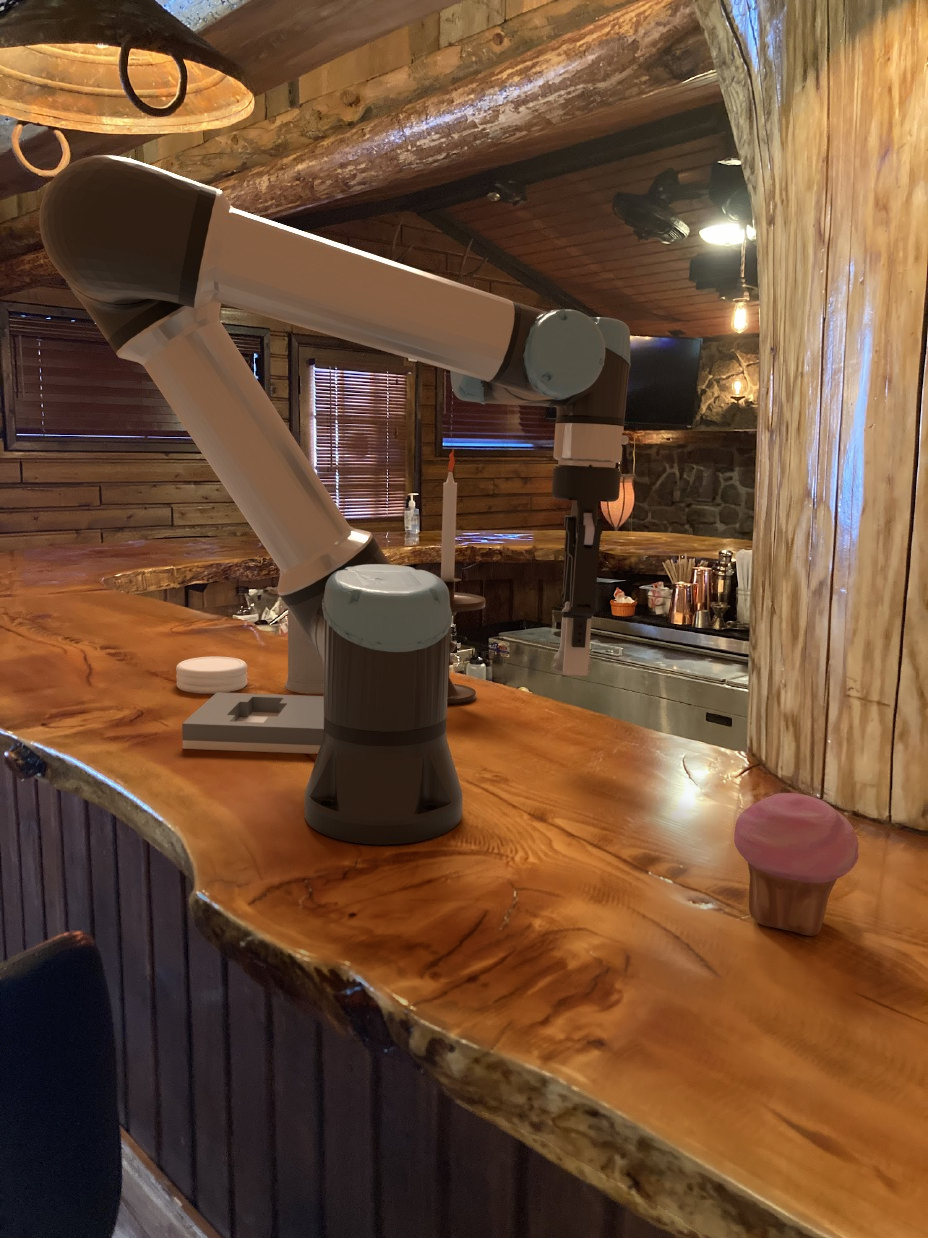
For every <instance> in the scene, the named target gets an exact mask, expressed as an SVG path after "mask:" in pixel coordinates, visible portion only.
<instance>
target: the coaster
mask: <svg viewBox="0 0 928 1238" xmlns="http://www.w3.org/2000/svg"><path fill="white" fill-rule="evenodd" d="M175 669H176V670H175V671H176V676H175V678H176V687H177V688H178V689H179V690H180V691H183V692H187V693H193V694H203V695H205V694H211V695H212V694H214V695H215V694H216V693H217V692H221V693H232V692H236V691H239V690H241V689H243V688H245V687H246V686H247V685H248V679H247V677H248V672H247V669H248V664H247V663H246V662H245V661H244V660H243V659H239V658H237V657H231V656H229V657H228V656H202V657H194V658H189V659H185V660H183V661H180V662H179V663H177V665H176V667H175Z"/></svg>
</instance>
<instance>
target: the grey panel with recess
mask: <svg viewBox="0 0 928 1238" xmlns="http://www.w3.org/2000/svg"><path fill="white" fill-rule="evenodd" d="M181 724H182V725H181V728H182V731H181V733H182V736H181V737H182V749H184V750H186V749H187V750H206V751H207V750H210V751H233V752H234V751H235V752H236V751H237V752H239V751H240V752H262V753H263V752H265V753H266V752H267V753H289V754H291V753H292V754H311V755H312V754H313V755H314V754H317V755H318V752H319V749H320V746H321V743H322V740H323V736H324V695H322V696H321V695H299V694H276V693H275V694H271V693H270V694H269V693H249V692H247V693H246V692H245V693H244V692H243V693H242V692H241V693H238V692H225V693H221V692H217V693H214V695H212V696H211V697H210V698H209V699H207V701H206V702H204V703H203V704H202V705H201V706H200V707H199V708H198V709H197V710H195V711H194V712H193V713H192V714H191V715H190V716H189V717H188V718H187V719H185V721H183V722H182V723H181Z"/></svg>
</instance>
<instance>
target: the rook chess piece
mask: <svg viewBox="0 0 928 1238" xmlns="http://www.w3.org/2000/svg"><path fill="white" fill-rule="evenodd" d="M568 610H569V602H566V603H565V607H563V608H562V610H561V613H562V612H568ZM566 619H567V618H565V622H564V623H563V626H564V633H563V638H562V643H561V646H559V648H558V649H557V653H555V654H554V656H553V661H554V662H555V663H554V664H553V665H552V669H554V672H556V673H557V674H559V675H565V676H567V675H566V674H563V663H564V648H565V634H566ZM591 662H592V661H591V657H590V656H589V661H588V674H589V673H590V672H591V670H592V668H591V667H590V666H589V665H590V664H591ZM571 676H573V677H574V676H576V677H577V676H582V675H571Z"/></svg>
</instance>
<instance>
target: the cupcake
mask: <svg viewBox="0 0 928 1238" xmlns="http://www.w3.org/2000/svg"><path fill="white" fill-rule="evenodd" d="M734 825H735V826H734V834H733V835H734V846H735V848H736V849H737V851H738V853H739V854H740V855H741V857H743V859H744V860H745V862H747V868H748V870H749V886H748V887H749V889H748V911H749V913H750V916H751V917H752V918H753V920H755V922H756V923H758V924H760V925H761V926H764V927H768V928H775V929H778V930H785V931H788V932H793V933H797V934H800V935H803V936H809V937H813V936H815V935H818V934H819V933H820V931H821V928H822V925H823V922H824V920H825V915H826V910H827V905H828V902H829V898H830V895H831V892H832V890H833V888H834V887H835V885H836V882H837V880H838V879H840V878H841V877H844V876H845V875H847V874H848V873H849V872H851V871H852V869H854V867H855V866H856V864H857V863H858V860H859V854H860V853H859V839H858V836H857V835H856V832H855V829H854V827H853V825H852V824H851V823H850V820H848V818H846V817H845V816H844V815H843V814H842V813H840V812H839V811H837V810H836V809H835V808H833V806H832V805H830V804H829V803H827V802H825V801H824V800H822V799H819V798H817V797H813V796H811V795H807V794H801V793H798V792H797V793H796V792H780V793H775V794H772V795H770V796H767V797H764V798H763V799H761V800H759V801H757V802H755V803H753V804H752V805H750V806H749V807H748V808H746V809H744V811H742V812H740V814H739V816H738V817H737V819H736V822H735V824H734Z"/></svg>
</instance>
